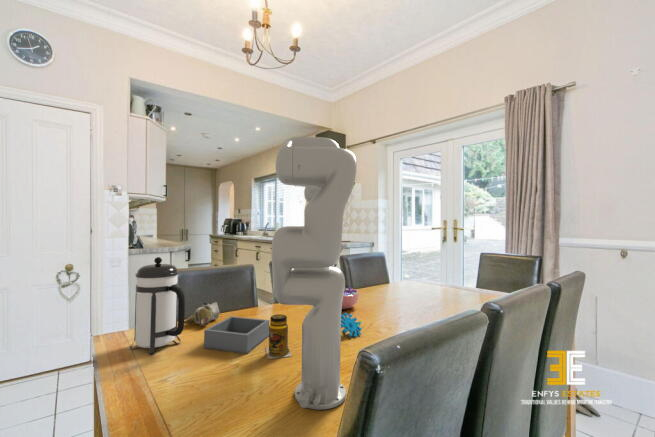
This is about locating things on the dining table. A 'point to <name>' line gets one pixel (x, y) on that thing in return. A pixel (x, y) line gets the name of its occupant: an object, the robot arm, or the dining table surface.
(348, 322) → the blue gear toy
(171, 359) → the dining table surface
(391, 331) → the dining table surface
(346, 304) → the cell model
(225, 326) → the bin
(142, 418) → the dining table surface
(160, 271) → the coffee press
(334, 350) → the robot arm
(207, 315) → the ceramic sculpture
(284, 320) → the condiment
